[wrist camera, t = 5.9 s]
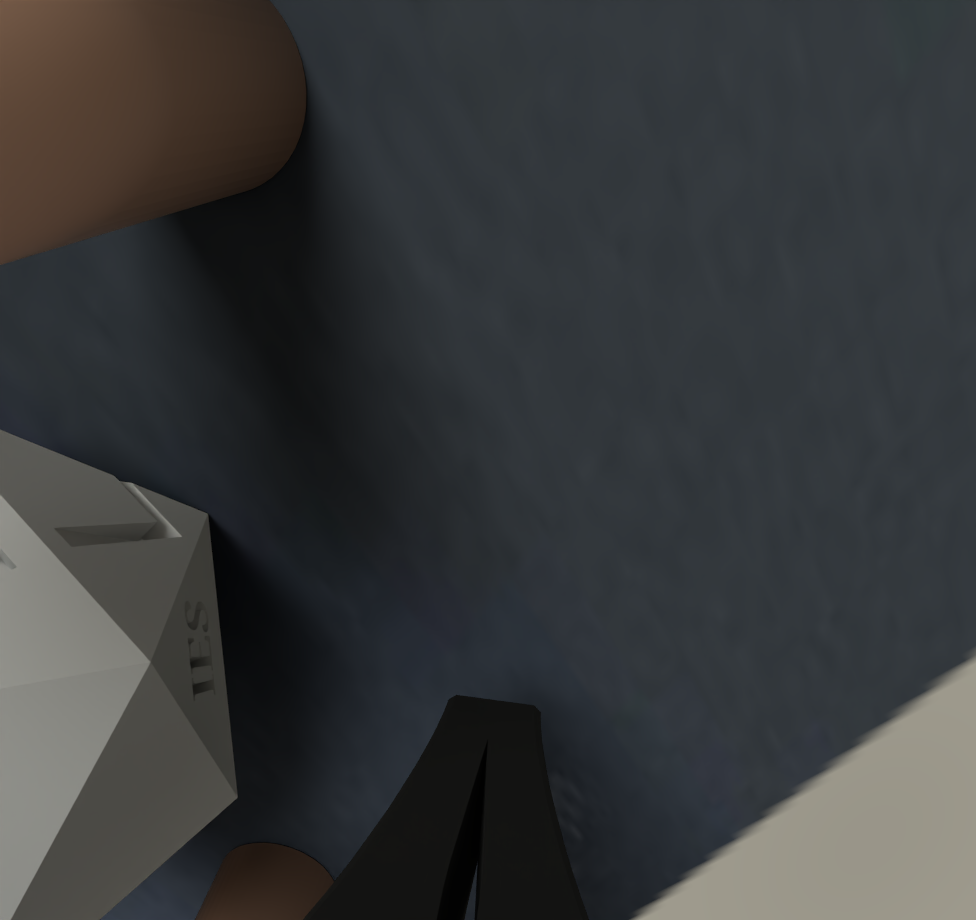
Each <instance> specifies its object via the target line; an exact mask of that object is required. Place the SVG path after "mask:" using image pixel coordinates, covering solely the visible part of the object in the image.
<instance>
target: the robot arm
mask: <svg viewBox="0 0 976 920" xmlns="http://www.w3.org/2000/svg"><path fill="white" fill-rule="evenodd" d="M477 861H478V867H477V885H476V904H475V920H589V919H588V916H587V913H586V910H585V907H584V905H583V902H582V899H581V896H580V893H579V890H578V887H577V884H576V880H575V877H574V874H573V871H572V868H571V865H570V862H569V858H568V855H567V852H566V848H565V845H564V842H563V838H562V834H561V830H560V826H559V822H558V819H557V815H556V811H555V807H554V803H553V799H552V795H551V790H550V786H549V781H548V775H547V770H546V765H545V759H544V752H543V745H542V736H541V712H540V711H539V710H538V709H537V708H536V707H535V706H534V705H526V704H519V703H512V702H504V701H497V700H490V699H482V698H475V697H468V696H460V695H456V696H454V697H452V698H451V699H449V700H448V703H447V705H446V708H445V711H444V713H443V715H442V717H441V719H440V721H439V724H438V726H437V728H436V730H435V732H434V734H433V736H432V737H431V739H430V741H429V743H428V745H427V747H426V748H425V750H424V752H423V754H422V755H421V757H420V759H419V761H418V762H417V764H416V766H415V767H414V769H413V771H412V772H411V774H410V775H409V777H408V779H407V780H406V782H405V783H404V785H403V786H402V788H401V790H400V791H399V793H398V794H397V796H396V798H395V799H394V801H393V802H392V804H391V805H390V807H389V808H388V810H387V811H386V813H385V814H384V816H383V817H382V818H381V820H380V821H379V823H378V824H377V825H376V827H375V828H374V829H373V831H372V832H371V834H370V835H369V836H368V838H367V839H366V841H365V842H364V843H363V845H362V846H361V848H360V849H359V850H358V852H357V853H356V854H355V856H354V857H353V858H352V860H351V861H350V862H349V864H348V865H347V866H346V868H345V869H344V870H343V871H342V873H341V874H340V875H339V877H338V878H337V879H336V880H335V882H334V883H333V884H332V885H331V886H330V888H329V889H328V890H327V891H326V893H325V894H324V895H323V896H322V897H321V899H320V900H319V901H318V902H317V903H316V905H315V906H314V907H313V908H312V909H311V910H310V912H309V913H308V914H307V915H306V916H305V918H304V919H303V920H464V918H465V914H466V909H467V905H468V901H469V896H470V892H471V888H472V883H473V879H474V875H475V870H476V866H477Z"/></svg>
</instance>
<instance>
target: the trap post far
mask: <svg viewBox="0 0 976 920" xmlns="http://www.w3.org/2000/svg"><path fill="white" fill-rule="evenodd" d="M333 883H334V881H333V879H332V877H331V876H330V874H329V873H328V872H327V871H326V869H325V868H324V867H323V866H322V865H320V864H319V863H318V862H317V861H315V860H314V859H313V858H311V857H309V856H308V855H306V854H304V853H302V852H300V851H298V850H295V849H293V848H290V847H286V846H283V845H278V844H272V843H251V844H246V845H243V846H239V847H237V848H235V849H234V850H232V851H231V852H229V853H228V854H227V855H226V857H225V858H224V860H223V862H222V864H221V866H220V868H219V870H218V872H217V874H216V876H215V878H214V881H213V883H212V885H211V887H210V889H209V891H208V893H207V895H206V897H205V899H204V902H203V904H202V906H201V908H200V910H199V912H198V914H197V916H196V918H195V920H303V919H304V918H305V916H306V915H307V914H308V913H309V912H310V910H311V909H312V908H313V907H314V906H315V905H316V903H317V902H318V901H319V900H320V899H321V897H322V896H323V895H324V894H325V893H326V891H327V890H328V889H329V888H330V886H331V885H332V884H333Z"/></svg>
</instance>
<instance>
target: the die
mask: <svg viewBox="0 0 976 920" xmlns="http://www.w3.org/2000/svg"><path fill="white" fill-rule="evenodd" d="M237 798H238V795H237V786H236V776H235V766H234V757H233V747H232V738H231V728H230V719H229V709H228V700H227V690H226V681H225V671H224V662H223V652H222V642H221V633H220V623H219V614H218V604H217V595H216V585H215V576H214V566H213V557H212V547H211V538H210V528H209V518H208V514H207V513H205V512H202V511H200V510H197V509H195V508H192V507H190V506H187V505H185V504H182V503H180V502H178V501H175V500H173V499H170V498H168V497H165V496H163V495H160V494H158V493H155V492H153V491H150V490H148V489H145V488H143V487H140V486H138V485H135V484H133V483H128V482H121V481H119V480H118V479H117V478H116V477H115V476H113V475H111V474H108V473H106V472H103V471H101V470H98V469H96V468H93V467H91V466H88V465H86V464H83V463H81V462H79V461H76V460H74V459H71V458H69V457H66V456H64V455H61V454H59V453H56V452H54V451H51V450H49V449H46V448H44V447H41V446H39V445H36V444H34V443H32V442H29V441H27V440H24V439H22V438H19V437H17V436H14V435H12V434H9V433H7V432H4V431H2V430H0V920H100V919H101V918H102V917H103V916H104V915H105V914H106V913H108V912H109V911H110V910H111V909H112V908H113V907H114V906H115V905H117V904H118V903H119V902H120V901H121V900H122V899H123V898H125V897H126V896H127V895H128V894H129V893H130V892H131V891H132V890H134V889H135V888H136V887H137V886H138V885H139V884H140V883H141V882H143V881H144V880H145V879H146V878H147V877H148V876H149V875H151V874H152V873H153V872H154V871H155V870H156V869H157V868H158V867H160V866H161V865H162V864H163V863H164V862H165V861H166V860H168V859H169V858H170V857H171V856H172V855H173V854H174V853H175V852H177V851H178V850H179V849H180V848H181V847H182V846H183V845H185V844H186V843H187V842H188V841H189V840H190V839H191V838H192V837H194V836H195V835H196V834H197V833H198V832H199V831H200V830H202V829H203V828H204V827H205V826H206V825H207V824H208V823H209V822H211V821H212V820H213V819H214V818H215V817H216V816H217V815H218V814H220V813H221V812H222V811H223V810H224V809H225V808H226V807H228V806H229V805H230V804H231V803H232V802H233V801H234V800H235V799H237Z"/></svg>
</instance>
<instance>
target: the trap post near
mask: <svg viewBox="0 0 976 920" xmlns="http://www.w3.org/2000/svg"><path fill="white" fill-rule="evenodd" d="M305 112H306V83H305V75H304V70H303V65H302V60H301V57H300V54H299V51H298V48H297V45H296V43H295V41H294V38H293V36H292V34H291V32H290V30H289V28H288V26H287V25H286V23H285V21H284V19H283V18H282V16H281V15H280V13H279V12H278V11H277V9H276V8H275V7H274V5H273V4H272V3H271V1H270V0H0V265H2V264H5V263H8V262H12V261H15V260H18V259H22V258H25V257H28V256H32V255H35V254H38V253H42V252H45V251H48V250H52V249H55V248H58V247H62V246H65V245H68V244H72V243H75V242H78V241H82V240H85V239H88V238H92V237H95V236H98V235H102V234H105V233H108V232H112V231H115V230H118V229H122V228H125V227H128V226H132V225H135V224H138V223H142V222H145V221H148V220H152V219H155V218H158V217H162V216H165V215H168V214H172V213H175V212H178V211H182V210H185V209H188V208H192V207H195V206H198V205H202V204H205V203H208V202H212V201H215V200H218V199H222V198H225V197H228V196H232V195H235V194H238V193H242V192H245V191H248V190H251V189H253V188H255V187H258V186H260V185H262V184H263V183H265V182H266V181H268V180H269V179H271V178H272V177H273V176H274V175H275V174H276V173H277V172H278V171H280V170H281V168H282V167H283V166H284V165H285V163H286V162H287V161H288V160H289V158H290V156H291V155H292V153H293V151H294V149H295V147H296V145H297V143H298V140H299V138H300V135H301V132H302V128H303V124H304V119H305Z"/></svg>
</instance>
